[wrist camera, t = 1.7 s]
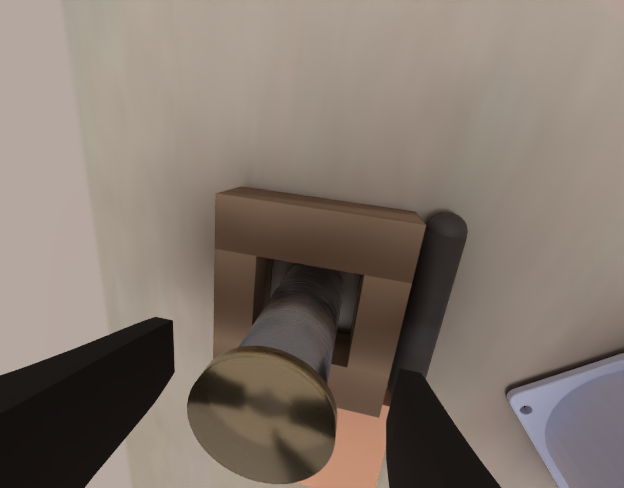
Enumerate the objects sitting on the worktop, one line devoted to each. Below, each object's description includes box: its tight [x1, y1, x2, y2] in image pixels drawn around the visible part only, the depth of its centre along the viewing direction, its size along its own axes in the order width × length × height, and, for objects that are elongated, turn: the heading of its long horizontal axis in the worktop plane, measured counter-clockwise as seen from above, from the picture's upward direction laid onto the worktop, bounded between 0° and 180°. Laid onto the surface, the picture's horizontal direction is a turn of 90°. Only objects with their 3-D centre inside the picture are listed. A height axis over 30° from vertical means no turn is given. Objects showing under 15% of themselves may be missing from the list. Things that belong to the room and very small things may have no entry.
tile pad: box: [295, 388, 392, 488], centre depth 17 cm, size 7×7×1 cm
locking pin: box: [187, 263, 343, 484], centre depth 11 cm, size 4×4×8 cm
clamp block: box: [213, 187, 468, 418], centre depth 14 cm, size 10×10×2 cm
